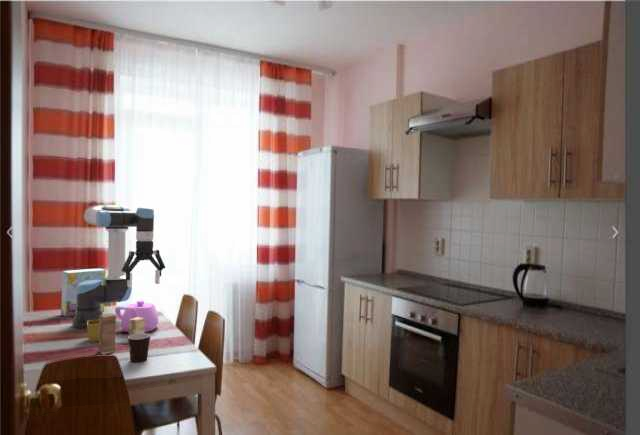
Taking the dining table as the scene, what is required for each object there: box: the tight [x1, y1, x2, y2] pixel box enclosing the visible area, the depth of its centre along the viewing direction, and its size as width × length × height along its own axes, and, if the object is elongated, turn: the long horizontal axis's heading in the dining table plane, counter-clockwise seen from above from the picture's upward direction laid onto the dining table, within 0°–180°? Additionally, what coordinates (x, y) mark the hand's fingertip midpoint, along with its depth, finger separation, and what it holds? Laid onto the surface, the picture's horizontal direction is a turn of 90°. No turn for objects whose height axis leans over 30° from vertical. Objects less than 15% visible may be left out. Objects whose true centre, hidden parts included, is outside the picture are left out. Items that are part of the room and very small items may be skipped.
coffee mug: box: [127, 332, 151, 364], centre depth 176 cm, size 12×9×10 cm
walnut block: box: [98, 312, 117, 355], centre depth 187 cm, size 5×5×16 cm
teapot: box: [114, 300, 159, 334], centre depth 217 cm, size 23×21×15 cm
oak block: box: [128, 317, 146, 336], centre depth 205 cm, size 5×5×10 cm
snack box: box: [60, 268, 107, 318], centre depth 251 cm, size 22×9×26 cm, turn 141°
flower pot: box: [86, 320, 99, 343], centre depth 202 cm, size 9×9×9 cm
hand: (143, 285), depth 200 cm, fingers open, 13 cm apart
